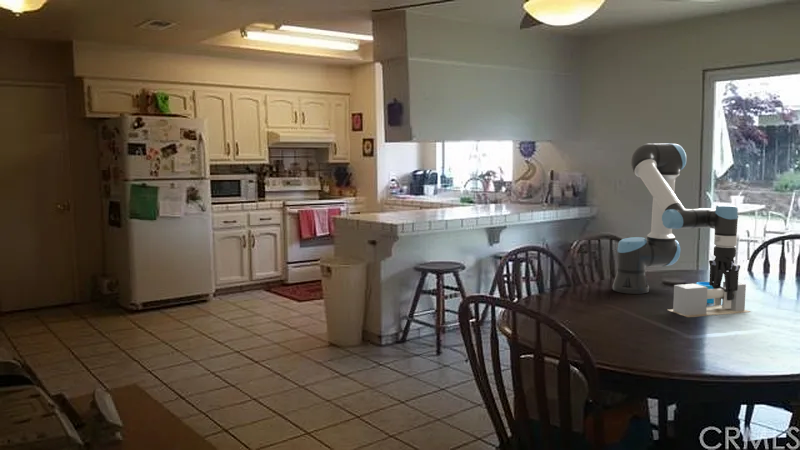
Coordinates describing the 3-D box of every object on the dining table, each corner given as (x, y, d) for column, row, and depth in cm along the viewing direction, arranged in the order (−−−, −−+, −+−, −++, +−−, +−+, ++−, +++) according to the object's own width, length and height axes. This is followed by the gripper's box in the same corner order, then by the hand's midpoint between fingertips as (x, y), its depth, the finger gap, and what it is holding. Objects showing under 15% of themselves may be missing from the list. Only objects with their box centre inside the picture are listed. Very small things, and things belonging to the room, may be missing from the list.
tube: (700, 301, 238) (701, 290, 238) (692, 299, 242) (693, 287, 242) (740, 298, 243) (740, 287, 242) (731, 296, 247) (732, 285, 246)
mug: (715, 306, 253) (716, 286, 252) (693, 304, 257) (693, 284, 257) (721, 301, 262) (722, 281, 261) (700, 298, 267) (700, 279, 266)
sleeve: (685, 315, 236) (686, 288, 235) (673, 311, 242) (674, 285, 241) (706, 313, 238) (707, 287, 237) (693, 309, 245) (694, 283, 244)
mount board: (666, 312, 245) (666, 309, 245) (728, 307, 252) (728, 304, 251) (687, 319, 233) (687, 317, 233) (751, 314, 240) (751, 311, 240)
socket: (735, 311, 241) (736, 285, 240) (722, 307, 248) (723, 281, 247) (744, 310, 242) (745, 284, 241) (730, 306, 249) (731, 281, 248)
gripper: (700, 243, 249) (697, 302, 251) (734, 249, 232) (731, 312, 234) (716, 242, 250) (714, 301, 253) (751, 248, 233) (748, 311, 236)
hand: (722, 306), depth 244 cm, fingers closed on tube, 4 cm apart
